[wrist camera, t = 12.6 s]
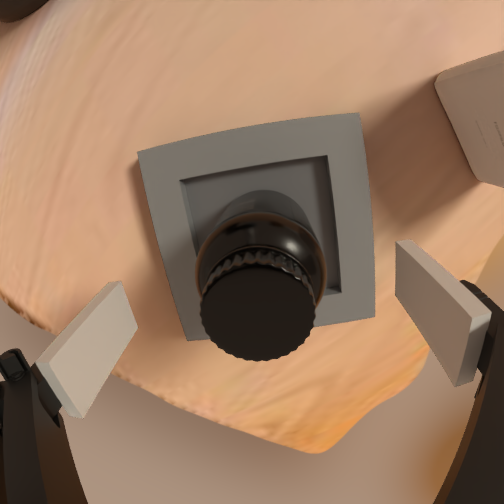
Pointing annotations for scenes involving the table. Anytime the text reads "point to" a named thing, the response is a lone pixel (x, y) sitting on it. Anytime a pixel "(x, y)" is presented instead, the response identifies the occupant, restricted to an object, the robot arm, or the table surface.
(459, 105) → the photo printer
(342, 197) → the base plate
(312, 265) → the supplement bottle
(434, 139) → the table surface
